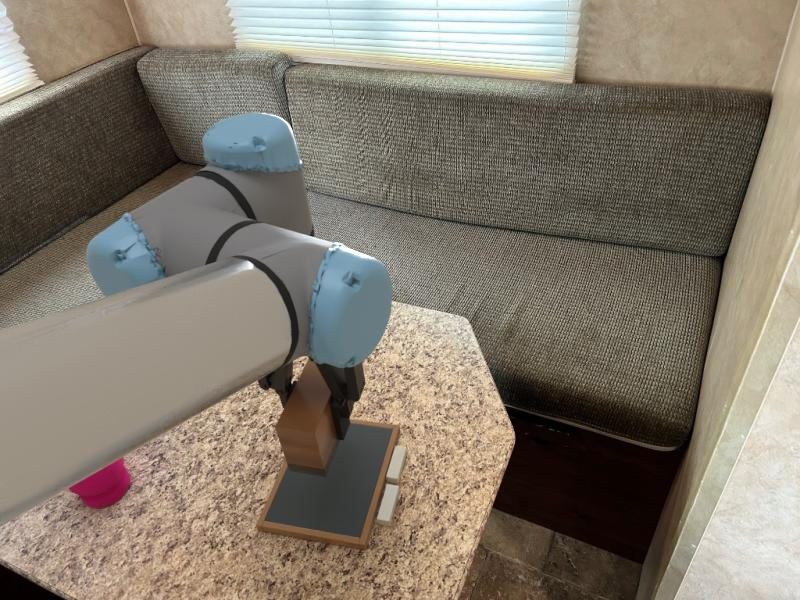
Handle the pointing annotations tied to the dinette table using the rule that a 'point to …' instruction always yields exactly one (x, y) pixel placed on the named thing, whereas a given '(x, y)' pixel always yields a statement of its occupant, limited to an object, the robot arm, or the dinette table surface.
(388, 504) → the white rectangular bar
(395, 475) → the white chalk stick
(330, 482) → the chalkboard
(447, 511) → the dinette table surface
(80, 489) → the pepper mill
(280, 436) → the eraser
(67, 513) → the dinette table surface
